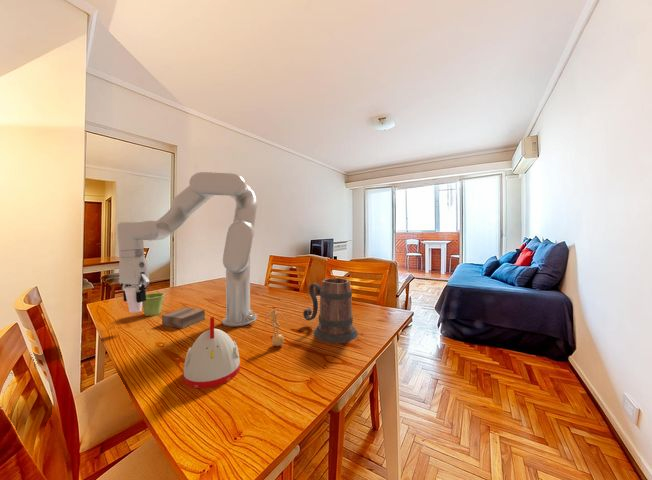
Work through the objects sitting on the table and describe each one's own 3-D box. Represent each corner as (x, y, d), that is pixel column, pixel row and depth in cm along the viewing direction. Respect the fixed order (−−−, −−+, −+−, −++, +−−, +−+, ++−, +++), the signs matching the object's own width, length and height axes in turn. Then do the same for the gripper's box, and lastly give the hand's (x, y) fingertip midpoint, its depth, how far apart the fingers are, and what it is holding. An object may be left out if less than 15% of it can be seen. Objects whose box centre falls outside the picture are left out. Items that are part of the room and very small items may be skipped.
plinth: (204, 319, 109) (204, 310, 109) (183, 328, 99) (182, 318, 98) (185, 316, 113) (185, 307, 112) (162, 325, 102) (162, 315, 102)
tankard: (365, 330, 97) (366, 279, 96) (343, 347, 83) (343, 287, 83) (317, 318, 111) (317, 273, 110) (290, 331, 97) (290, 279, 96)
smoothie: (134, 314, 93) (132, 276, 92) (120, 313, 94) (117, 276, 94) (150, 308, 99) (147, 273, 99) (136, 308, 101) (134, 273, 100)
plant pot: (169, 313, 117) (168, 294, 117) (145, 319, 109) (145, 299, 109) (159, 309, 122) (158, 291, 122) (136, 315, 114) (135, 296, 114)
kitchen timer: (180, 394, 60) (179, 331, 59) (186, 365, 72) (185, 313, 72) (242, 380, 65) (241, 323, 64) (237, 355, 78) (237, 307, 77)
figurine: (270, 352, 80) (270, 314, 79) (260, 346, 84) (260, 310, 84) (291, 343, 86) (291, 308, 85) (280, 338, 90) (280, 305, 90)
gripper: (158, 253, 97) (160, 299, 97) (126, 253, 102) (129, 297, 103) (137, 255, 89) (141, 305, 90) (105, 255, 95) (108, 302, 96)
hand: (134, 300), depth 97 cm, fingers closed on smoothie, 6 cm apart
